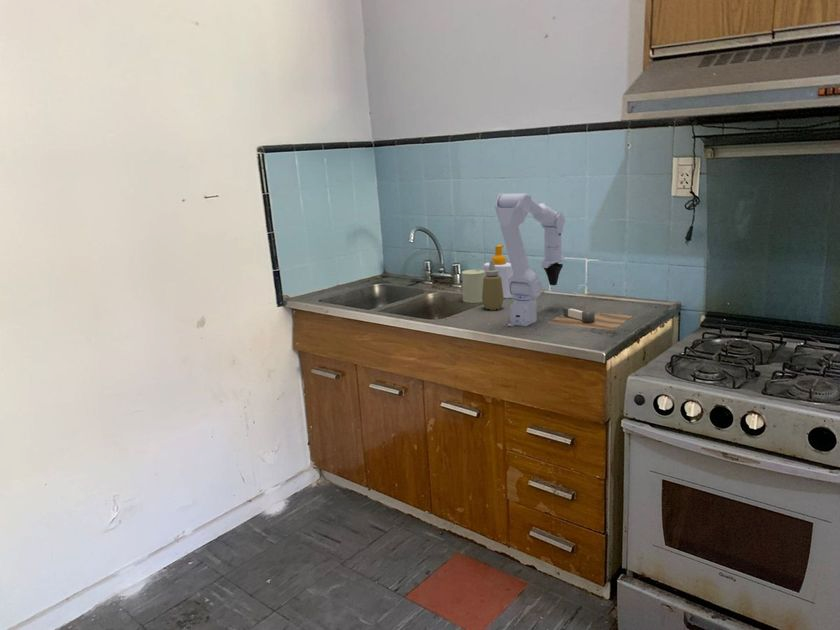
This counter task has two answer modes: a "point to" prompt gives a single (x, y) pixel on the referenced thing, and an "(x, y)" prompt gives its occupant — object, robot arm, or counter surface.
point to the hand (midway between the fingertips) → (553, 284)
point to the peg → (580, 314)
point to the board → (600, 321)
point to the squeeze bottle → (492, 289)
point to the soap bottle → (501, 269)
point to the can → (472, 285)
